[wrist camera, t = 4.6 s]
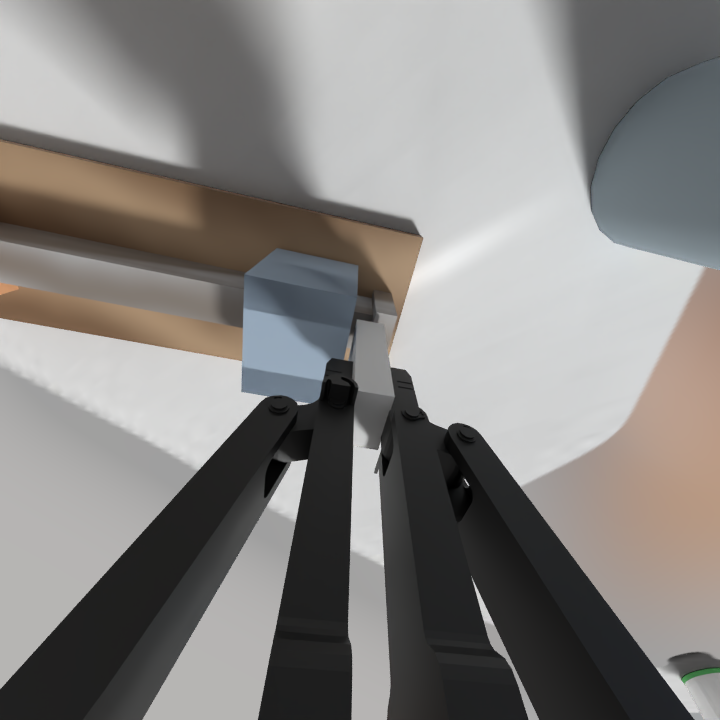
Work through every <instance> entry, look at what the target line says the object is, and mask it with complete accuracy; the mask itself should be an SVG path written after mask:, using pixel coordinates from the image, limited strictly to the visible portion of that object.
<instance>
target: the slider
mask: <svg viewBox="0 0 720 720" xmlns="http://www.w3.org/2000/svg"><path fill="white" fill-rule="evenodd" d="M357 289H358V265H354V264H349V263H345V262H340V261H335V260H331V259H326V258H321V257H317V256H312V255H307V254H303V253H298V252H293V251H289V250H284V249H280V248H276V249H275V250H274V251H273V252H271V253H270V254H269V255H268V256H266V257H265V258H264V259H263V260H261V261H260V262H259V263H258V264H256V265H255V266H254V267H253V268H251V269H250V270H249V271H248V272H246V273H245V274H244V306H243V349H242V392H246V393H252V394H258V395H264V396H274V395H282V396H287V397H289V398H292V399H293V400H294V401H300V402H306V403H313V402H315V401H317V400H318V399H319V397H320V392H321V386H322V381H323V379H324V374H325V369H326V363H327V362H328V361H329V360H330V359H331V358H335V359H341V360H344V357H345V352H346V348H347V343H348V338H349V333H350V329H351V324H352V319H353V315H354V310H355V305H356V301H357Z"/></svg>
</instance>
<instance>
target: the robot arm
mask: <svg viewBox="0 0 720 720" xmlns="http://www.w3.org/2000/svg"><path fill="white" fill-rule="evenodd" d="M380 442H381V452H380V455H379V458H378V461H377V464H376V468H375V472H374V473H376V474H377V472H378V469H379V478H380V496H381V514H382V532H383V550H384V568H385V587H386V605H387V620H388V621H387V622H388V641H389V659H390V675H391V676H390V677H391V689H390V698H389V705H388V715H387V716H388V717H387V720H528V717H527V713H526V710H525V707H524V704H523V700H522V697H521V694H520V691H519V687H518V684H517V682H516V679H515V677H514V674H513V671H512V669H511V667H510V666H509V665H508V663H507V661H506V659H505V658H504V657H502V656H501V655H500V654H498V653H497V652H496V651H495V650H494V649H493V647H492V646H491V644H490V641H489V639H488V636H487V632H486V628H485V625H484V621H483V617H482V614H481V610H480V606H479V603H478V599H477V595H476V592H475V588H474V584H473V581H472V578H473V580H474V582H475V584H476V587H477V589H478V591H479V593H480V595H481V597H482V599H483V601H484V604H485V606H486V608H487V610H488V612H489V614H490V616H491V618H492V620H493V623H494V625H495V627H496V629H497V631H498V633H499V635H500V637H501V639H502V642H503V644H504V646H505V647H506V650H507V652H508V654H509V656H510V659H511V660H512V663H513V665H514V667H515V669H516V671H517V673H518V675H519V678H520V680H521V682H522V684H523V686H524V688H525V690H526V692H527V694H528V696H529V699H530V701H531V703H532V705H533V707H534V709H535V711H536V713H537V716H538V718H539V720H694V719H693V717H692V716H691V715H690V713H689V712H688V711H687V709H686V708H685V707H684V705H683V704H682V703H681V701H680V700H679V699H678V697H677V696H676V695H675V693H674V692H673V691H672V689H671V688H670V687H669V685H668V684H667V683H666V681H665V680H664V679H663V677H662V676H661V675H660V673H659V672H658V671H657V669H656V668H655V667H654V665H653V664H652V663H651V662H650V660H649V659H648V657H647V656H646V655H645V653H644V652H643V651H642V649H641V648H640V647H639V645H638V644H637V643H636V641H635V640H634V639H633V637H632V636H631V635H630V633H629V632H628V631H627V629H626V628H625V627H624V625H623V624H622V623H621V621H620V620H619V619H618V617H617V616H616V615H615V613H614V612H613V611H612V609H611V608H610V607H609V605H608V604H607V603H606V601H605V600H604V599H603V597H602V596H601V595H600V593H599V592H598V590H597V589H596V588H595V586H594V585H593V584H592V583H591V581H590V580H589V578H588V577H587V576H586V575H585V573H584V572H583V571H582V569H581V568H580V567H579V565H578V564H577V562H576V561H575V560H574V558H573V557H572V556H571V554H570V553H569V552H568V550H567V549H566V548H565V546H564V545H563V544H562V543H561V541H560V540H559V538H558V537H557V536H556V534H555V533H554V532H553V530H552V529H551V528H550V526H549V525H548V524H547V523H546V521H545V520H544V519H543V517H542V516H541V514H540V513H539V512H538V511H537V509H536V508H535V506H534V505H533V504H532V502H531V501H530V500H529V498H528V497H527V496H526V494H525V493H524V492H523V490H522V489H521V488H520V486H519V485H518V484H517V482H516V481H515V480H514V478H513V477H512V476H511V474H510V473H509V472H508V470H507V469H506V468H505V466H504V465H503V464H502V462H501V461H500V460H499V458H498V457H497V456H496V454H495V453H494V452H493V450H492V449H491V448H490V446H489V445H488V444H487V442H486V441H485V440H484V438H483V437H482V436H481V434H480V433H479V432H478V431H477V430H475V429H474V428H472V427H470V426H468V425H465V424H461V423H455V424H452V425H450V426H449V428H448V430H447V429H444V428H442V427H439V426H436V425H434V424H432V423H430V422H429V420H428V417H427V415H426V413H425V412H424V411H423V410H422V409H421V408H419V407H418V403H417V399H416V395H415V391H414V387H413V383H412V379H411V376H410V375H409V374H408V373H407V371H406V370H402V369H397V368H391V367H390V362H389V355H388V349H387V342H386V335H385V329H384V324H380V323H375V322H369V321H364V320H359V319H357V321H356V326H355V331H354V335H353V340H352V345H351V350H350V354H349V359H348V361H347V360H341V359H335V358H331V359H330V360H329V361H328V362H327V363H326V369H325V374H324V379H323V381H322V386H321V392H320V397H319V399H318V400H317V401H315V402H313V403H311V404H307V405H297V403H296V402H295V401H294V400H293V399H292V398H289V397H287V396H282V395H274V396H270V397H267V398H265V399H264V400H262V401H261V402H260V403H259V405H258V406H257V407H256V408H255V409H254V410H253V411H252V412H251V413H250V414H249V416H248V417H247V418H246V419H245V420H244V421H243V422H242V423H241V424H240V425H239V427H238V428H237V429H236V430H235V431H234V432H233V433H232V434H231V435H230V437H229V438H228V439H227V440H226V441H225V442H224V443H223V444H222V445H221V446H220V448H219V449H218V450H217V451H216V452H215V453H214V454H213V455H212V456H211V457H210V459H209V460H208V461H207V462H206V463H205V464H204V465H203V466H202V467H201V469H200V470H199V471H198V472H197V473H196V474H195V475H194V476H193V477H192V478H191V480H190V481H189V482H188V483H187V484H186V485H185V486H184V487H183V488H182V490H181V491H180V492H179V493H178V494H177V495H176V496H175V497H174V498H173V499H172V501H171V502H170V503H169V504H168V505H167V506H166V507H165V508H164V509H163V510H162V512H161V513H160V514H159V515H158V516H157V517H156V518H155V519H154V520H153V521H152V523H151V524H150V525H149V526H148V527H147V528H146V529H145V530H144V531H143V533H142V534H141V535H140V536H139V537H138V538H137V539H136V540H135V541H134V542H133V544H132V545H131V546H130V547H129V548H128V549H127V550H126V551H125V553H123V555H122V556H121V557H120V558H119V559H118V560H117V561H116V562H115V563H114V565H113V566H112V567H111V568H110V569H109V570H108V571H107V572H106V573H105V574H104V576H103V577H102V578H101V579H100V580H99V581H98V582H97V584H95V585H94V587H93V588H92V589H91V590H90V591H89V592H88V593H87V594H86V596H85V597H84V598H83V599H82V600H81V601H80V602H79V603H78V604H77V605H76V606H75V608H74V609H73V610H72V611H71V612H70V613H69V614H68V615H67V616H66V618H65V619H64V620H63V621H62V622H61V623H60V624H59V625H58V626H57V628H56V629H55V630H54V631H53V632H52V633H51V634H50V635H49V636H48V637H47V638H46V640H45V641H44V642H43V643H42V644H41V645H40V646H39V647H38V648H37V649H36V651H35V652H34V653H33V654H32V655H31V656H30V657H29V658H28V659H27V661H26V662H25V663H24V664H23V665H22V666H21V667H20V668H19V669H18V670H17V672H16V673H15V674H14V675H13V676H12V677H11V678H10V679H9V680H8V682H7V683H6V684H5V685H4V686H3V687H2V688H1V689H0V720H142V719H143V717H144V716H145V714H146V712H147V711H148V709H149V707H150V705H151V704H152V702H153V700H154V698H155V697H156V695H157V693H158V692H159V690H160V688H161V686H162V685H163V683H164V681H165V680H166V678H167V676H168V674H169V672H170V671H171V669H172V668H173V666H174V664H175V662H176V661H177V659H178V657H179V655H180V653H181V652H182V650H183V648H184V647H185V645H186V643H187V642H188V640H189V638H190V637H191V635H192V633H193V631H194V630H195V628H196V626H197V625H198V623H199V621H200V619H201V618H202V616H203V614H204V612H205V611H206V609H207V607H208V606H209V604H210V602H211V600H212V599H213V597H214V595H215V594H216V592H217V590H218V588H219V587H220V585H221V583H222V581H223V580H224V578H225V576H226V575H227V573H228V571H229V569H230V568H231V566H232V564H233V563H234V561H235V559H236V557H237V556H238V554H239V552H240V551H241V549H242V547H243V545H244V544H245V542H246V540H247V538H248V537H249V535H250V533H251V532H252V530H253V528H254V526H255V524H256V523H257V521H258V520H259V518H260V516H261V514H262V512H263V511H264V509H265V508H266V506H267V504H268V502H269V501H270V499H271V497H272V496H273V494H274V492H275V490H276V489H277V487H278V485H279V483H280V482H281V480H282V478H283V477H284V475H285V473H286V471H287V470H288V468H289V466H290V464H291V462H292V461H299V460H307V459H308V462H307V467H306V472H305V477H304V483H303V488H302V493H301V499H300V504H299V509H298V514H297V520H296V525H295V530H294V536H293V541H292V546H291V551H290V557H289V562H288V568H287V572H286V578H285V583H284V589H283V594H282V599H281V604H280V610H279V615H278V620H277V625H276V631H275V635H274V639H273V645H272V649H271V654H270V659H269V665H268V670H267V675H266V680H265V686H264V691H263V696H262V701H261V706H260V712H259V717H258V720H351V708H352V703H351V702H352V650H351V643H350V640H349V638H348V601H349V568H350V567H349V566H350V534H351V500H352V466H353V446H355V447H362V448H369V449H376V450H378V448H379V445H380ZM464 479H466V481H467V482H468V484H469V486H468V485H467V484H466V482H465V480H464ZM471 576H472V577H471Z"/></svg>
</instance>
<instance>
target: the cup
mask: <svg viewBox="0 0 720 720" xmlns="http://www.w3.org/2000/svg"><path fill="white" fill-rule="evenodd" d="M682 681H683V683H684V684H685V686H686V688H687V690H688V691H689V693H690V695H691V697H692V699H693V701H694V702H695V704H696V706H697V708H698V710H699V712H700V713H701V715H702V717H703V719H704V720H720V668H708V669H703V670H698V671H695V672H692V673H689V674H687V675H685V676H684V677H683V678H682Z"/></svg>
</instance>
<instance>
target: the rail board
mask: <svg viewBox="0 0 720 720" xmlns="http://www.w3.org/2000/svg"><path fill="white" fill-rule="evenodd" d="M422 241H423V237H422V236H420V235H416V234H412V233H407V232H403V231H399V230H394V229H390V228H386V227H381V226H377V225H373V224H368V223H364V222H359V221H355V220H351V219H346V218H342V217H338V216H333V215H329V214H325V213H320V212H316V211H311V210H307V209H303V208H298V207H294V206H290V205H285V204H281V203H277V202H272V201H268V200H263V199H259V198H255V197H250V196H246V195H242V194H237V193H233V192H229V191H224V190H220V189H215V188H211V187H207V186H202V185H198V184H194V183H189V182H185V181H181V180H176V179H172V178H167V177H163V176H159V175H154V174H150V173H146V172H141V171H137V170H133V169H128V168H124V167H119V166H115V165H111V164H106V163H102V162H98V161H93V160H89V159H85V158H80V157H76V156H72V155H67V154H63V153H58V152H54V151H50V150H45V149H41V148H37V147H32V146H28V145H24V144H19V143H15V142H10V141H6V140H2V139H0V318H3V319H9V320H14V321H20V322H26V323H31V324H37V325H42V326H48V327H54V328H59V329H65V330H71V331H76V332H82V333H88V334H93V335H99V336H104V337H110V338H116V339H121V340H127V341H133V342H138V343H144V344H150V345H155V346H161V347H166V348H172V349H178V350H183V351H189V352H195V353H200V354H206V355H212V356H217V357H223V358H228V359H234V360H240V361H242V349H243V306H244V274H245V273H246V272H248V271H249V270H250V269H251V268H253V267H254V266H255V265H256V264H258V263H259V262H260V261H261V260H263V259H264V258H265V257H266V256H268V255H269V254H270V253H271V252H273V251H274V250H275V249H276V248H280V249H284V250H289V251H293V252H298V253H303V254H307V255H312V256H317V257H321V258H326V259H331V260H335V261H340V262H345V263H349V264H354V265H358V289H357V301H356V305H355V310H354V315H353V319H352V324H351V329H350V333H349V338H348V343H347V348H346V352H345V357H344V360H347V361H348V359H349V354H350V350H351V345H352V340H353V335H354V331H355V326H356V321H357V319H359V320H364V321H369V322H375V323H380V324H384V329H385V335H386V342H387V349H388V355H389V353H390V349H391V346H392V343H393V339H394V336H395V332H396V329H397V326H398V322H399V319H400V315H401V312H402V309H403V305H404V302H405V298H406V295H407V292H408V288H409V285H410V281H411V278H412V275H413V271H414V268H415V264H416V261H417V258H418V254H419V251H420V247H421V244H422Z"/></svg>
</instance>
